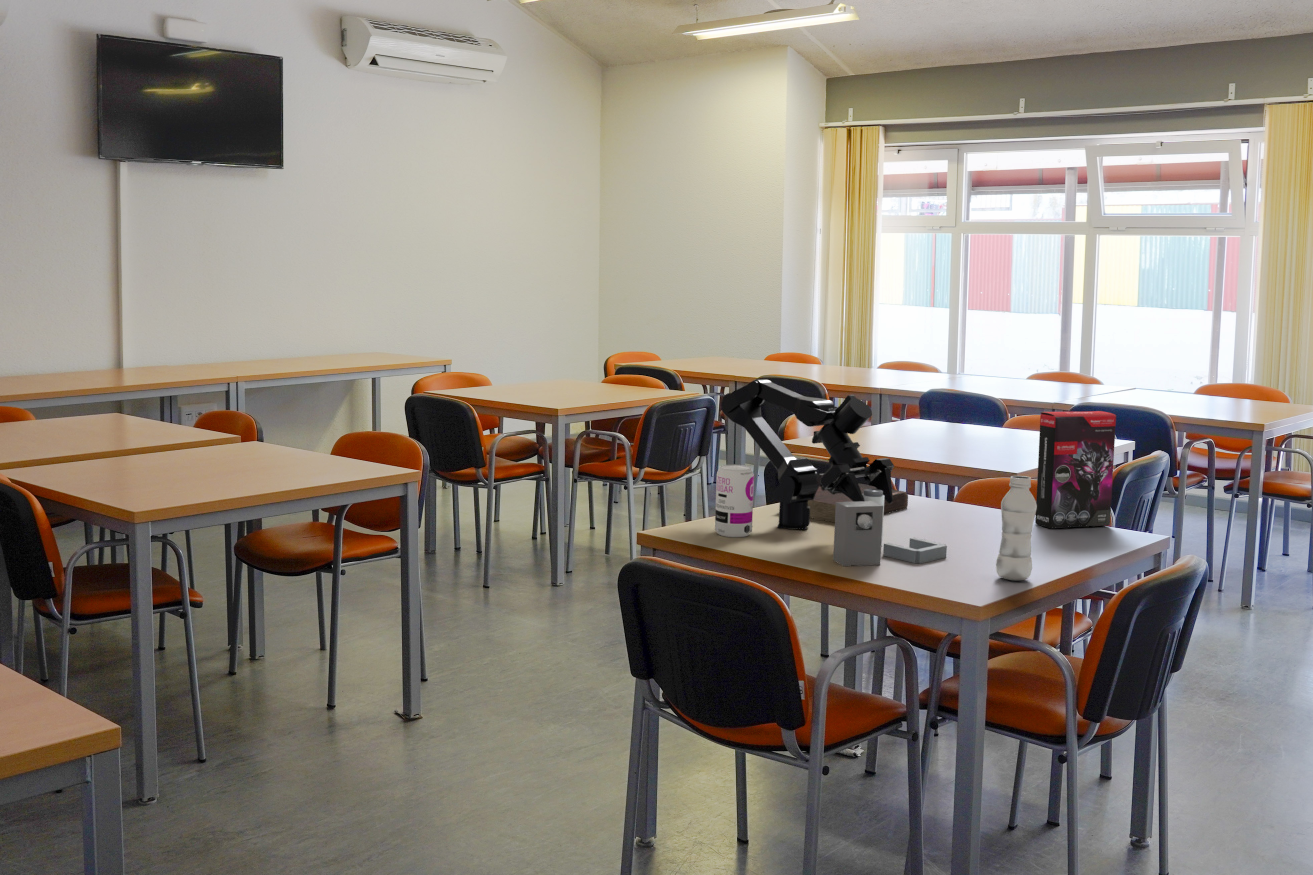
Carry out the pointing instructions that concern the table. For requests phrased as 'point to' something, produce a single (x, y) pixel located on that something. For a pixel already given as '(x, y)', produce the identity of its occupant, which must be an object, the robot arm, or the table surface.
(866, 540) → the block
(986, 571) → the table surface
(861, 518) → the plunger
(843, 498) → the hardback book
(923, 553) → the cradle
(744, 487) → the supplement can
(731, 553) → the table surface
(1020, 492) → the plastic bottle
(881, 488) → the robot arm
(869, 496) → the cylinder
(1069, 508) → the graphics card box
